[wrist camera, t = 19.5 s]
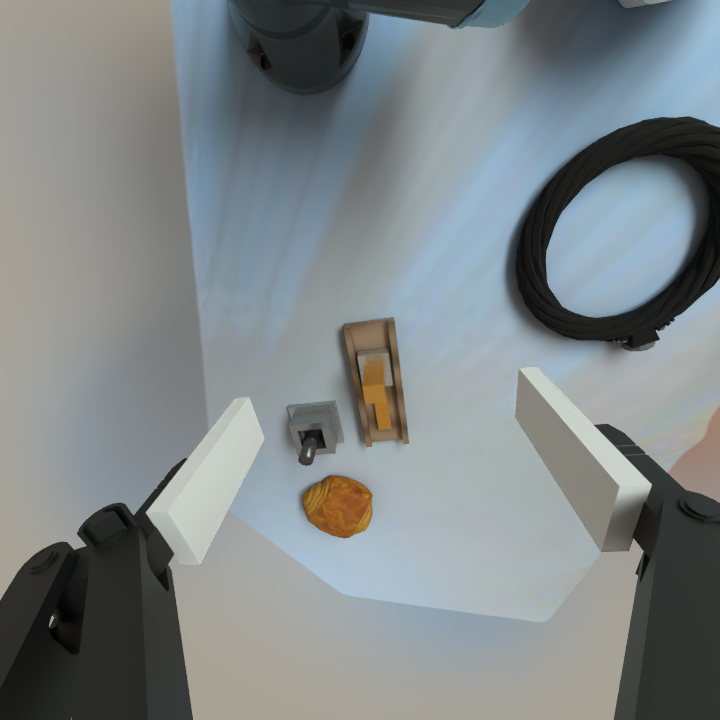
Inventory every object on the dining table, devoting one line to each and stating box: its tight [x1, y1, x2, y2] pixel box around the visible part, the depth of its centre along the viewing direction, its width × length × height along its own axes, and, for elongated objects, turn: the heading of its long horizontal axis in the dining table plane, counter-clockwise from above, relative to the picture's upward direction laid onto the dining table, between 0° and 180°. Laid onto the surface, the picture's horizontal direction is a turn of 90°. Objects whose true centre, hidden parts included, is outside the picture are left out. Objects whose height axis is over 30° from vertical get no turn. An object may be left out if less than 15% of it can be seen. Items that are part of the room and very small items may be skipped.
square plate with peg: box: [288, 401, 344, 466], centre depth 55 cm, size 9×9×10 cm
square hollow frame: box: [289, 409, 338, 456], centre depth 57 cm, size 7×7×4 cm
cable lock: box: [516, 116, 720, 351], centre depth 41 cm, size 28×4×30 cm
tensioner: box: [357, 348, 393, 430], centre depth 50 cm, size 16×5×9 cm, turn 9°
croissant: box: [303, 476, 373, 538], centre depth 65 cm, size 14×16×8 cm
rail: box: [343, 317, 409, 447], centre depth 53 cm, size 24×8×2 cm, turn 9°
